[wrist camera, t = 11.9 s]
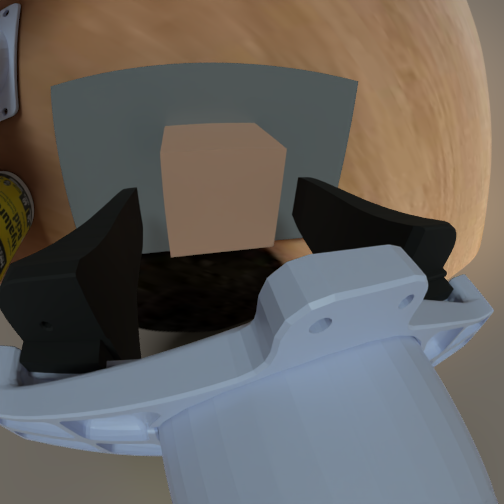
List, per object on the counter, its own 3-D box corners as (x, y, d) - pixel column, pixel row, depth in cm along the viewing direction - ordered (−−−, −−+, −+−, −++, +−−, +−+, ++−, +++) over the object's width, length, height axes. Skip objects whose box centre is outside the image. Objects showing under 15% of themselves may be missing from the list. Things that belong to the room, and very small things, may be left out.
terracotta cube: (169, 205, 16) (171, 257, 12) (164, 126, 13) (160, 153, 9) (248, 199, 17) (273, 246, 14) (254, 123, 14) (286, 148, 11)
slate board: (90, 249, 18) (86, 259, 17) (58, 84, 10) (50, 86, 9) (318, 227, 22) (325, 235, 21) (347, 79, 15) (358, 81, 14)
